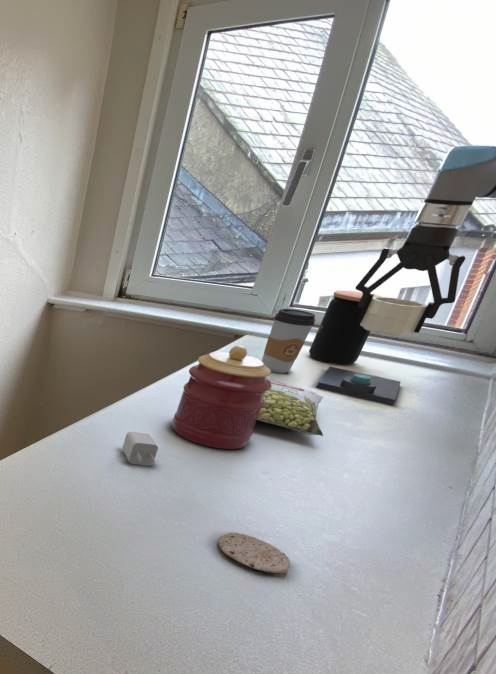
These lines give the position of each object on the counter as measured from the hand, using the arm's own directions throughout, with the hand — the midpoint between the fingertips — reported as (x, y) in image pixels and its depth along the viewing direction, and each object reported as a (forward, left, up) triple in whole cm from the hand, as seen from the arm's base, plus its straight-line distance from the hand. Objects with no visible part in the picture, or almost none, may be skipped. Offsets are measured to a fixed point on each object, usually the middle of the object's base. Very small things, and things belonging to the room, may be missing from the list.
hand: (387, 326), depth 128 cm
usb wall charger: (+22, +85, -15) cm, 89 cm away
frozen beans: (+13, +42, -15) cm, 46 cm away
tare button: (0, +10, -12) cm, 15 cm away
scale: (0, +3, -15) cm, 15 cm away
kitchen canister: (+17, +63, -15) cm, 67 cm away
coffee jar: (+8, -20, -15) cm, 26 cm away
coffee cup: (+17, +4, -15) cm, 23 cm away
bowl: (0, 0, -1) cm, 1 cm away
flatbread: (+2, +100, -15) cm, 101 cm away
